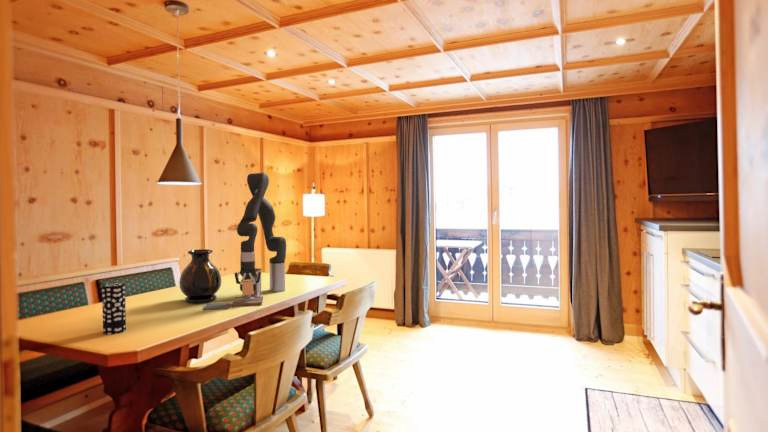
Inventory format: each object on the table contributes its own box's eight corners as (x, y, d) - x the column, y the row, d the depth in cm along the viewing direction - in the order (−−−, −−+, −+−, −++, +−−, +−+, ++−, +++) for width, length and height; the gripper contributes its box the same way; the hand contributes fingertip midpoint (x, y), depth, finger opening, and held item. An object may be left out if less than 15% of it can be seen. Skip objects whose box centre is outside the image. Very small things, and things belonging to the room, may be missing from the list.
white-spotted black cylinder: (109, 328, 190) (108, 283, 189) (129, 328, 191) (128, 282, 190) (98, 334, 182) (97, 286, 181) (119, 334, 183) (118, 286, 182)
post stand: (235, 300, 244) (234, 281, 244) (263, 299, 247) (262, 280, 247) (231, 306, 229) (231, 286, 229) (261, 305, 233) (261, 285, 232)
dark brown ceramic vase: (221, 303, 237) (220, 251, 236) (177, 306, 230) (176, 253, 229) (221, 295, 257) (221, 247, 256) (181, 298, 250) (180, 249, 249)
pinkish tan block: (243, 292, 240) (243, 280, 240) (253, 292, 242) (253, 279, 241) (242, 295, 235) (242, 282, 235) (253, 294, 236) (252, 281, 236)
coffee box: (242, 297, 251) (241, 269, 251) (246, 295, 258) (246, 267, 257) (257, 297, 251) (257, 269, 250) (261, 295, 257) (261, 268, 256)
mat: (207, 304, 234) (207, 303, 234) (230, 303, 236) (230, 302, 236) (202, 310, 222) (202, 309, 222) (227, 309, 225) (227, 307, 225)
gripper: (261, 258, 243) (262, 289, 243) (234, 259, 240) (235, 290, 240) (261, 260, 235) (261, 291, 236) (232, 261, 232) (233, 293, 233)
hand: (248, 290), depth 238 cm, fingers closed on pinkish tan block, 5 cm apart
